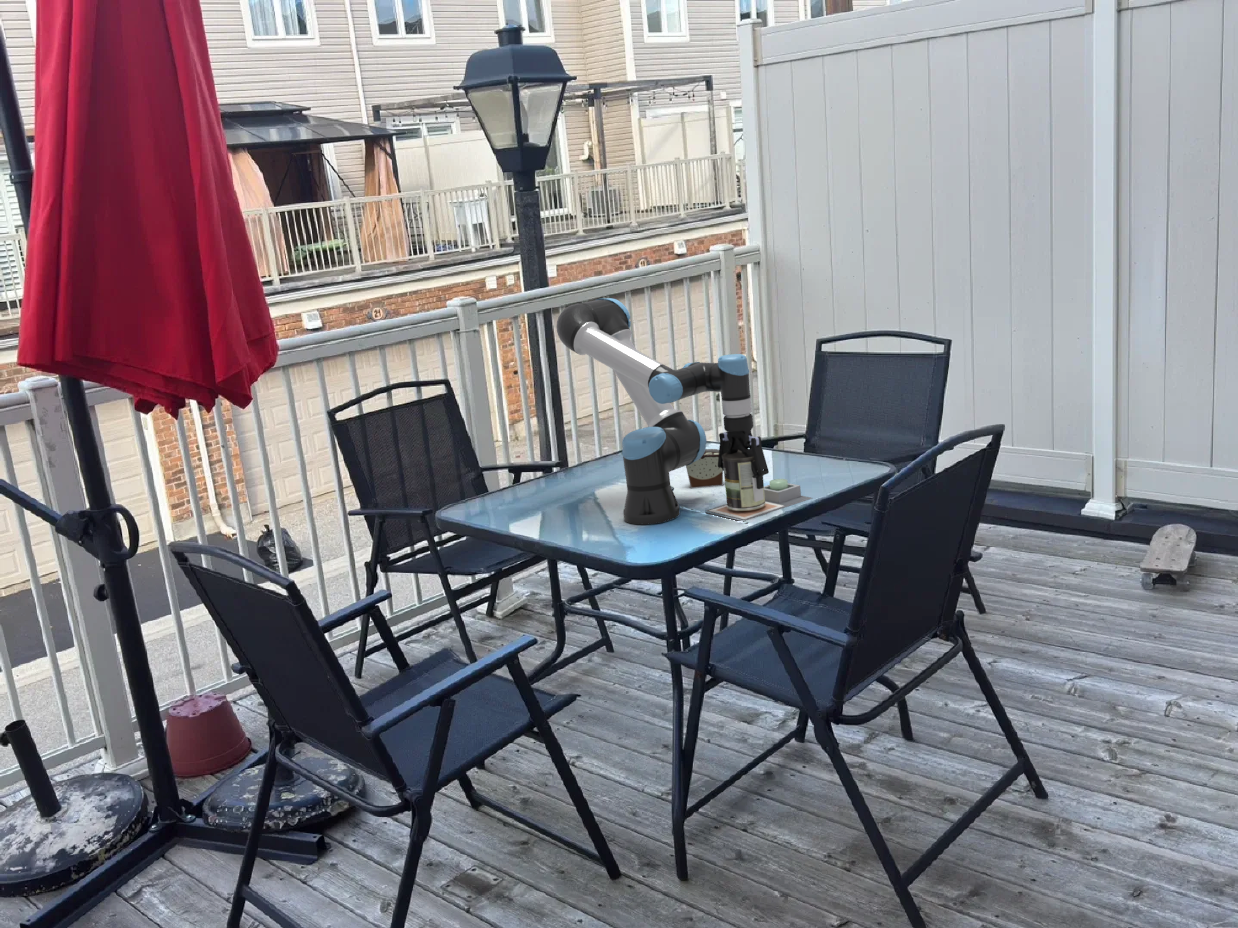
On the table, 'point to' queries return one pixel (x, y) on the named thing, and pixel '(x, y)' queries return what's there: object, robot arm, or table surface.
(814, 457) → the table surface
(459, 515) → the table surface
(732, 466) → the coffee can
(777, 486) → the button
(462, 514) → the table surface
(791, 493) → the pad with button box
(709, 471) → the food container
